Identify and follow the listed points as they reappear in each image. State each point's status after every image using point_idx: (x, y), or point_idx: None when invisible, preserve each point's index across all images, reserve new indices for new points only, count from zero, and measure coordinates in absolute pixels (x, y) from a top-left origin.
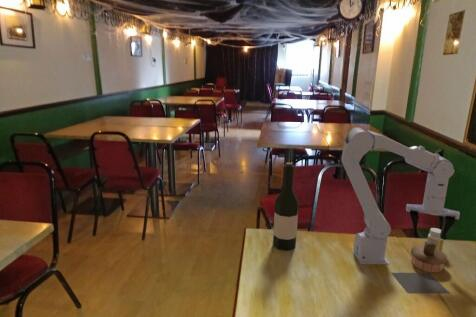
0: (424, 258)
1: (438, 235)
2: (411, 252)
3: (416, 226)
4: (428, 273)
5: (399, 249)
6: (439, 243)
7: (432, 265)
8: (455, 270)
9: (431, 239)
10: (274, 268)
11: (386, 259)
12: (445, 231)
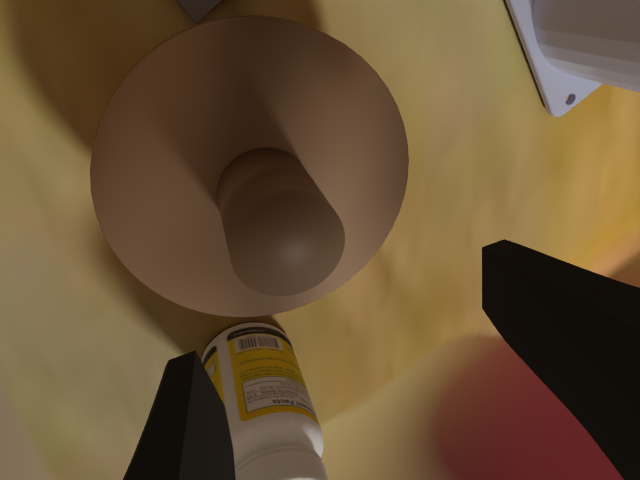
0: (278, 46)
1: (254, 465)
2: (397, 119)
3: (595, 303)
4: (199, 2)
5: (429, 252)
6: (227, 409)
7: None
8: (51, 234)
9: (289, 407)
10: None
11: (517, 15)
12: (145, 474)
